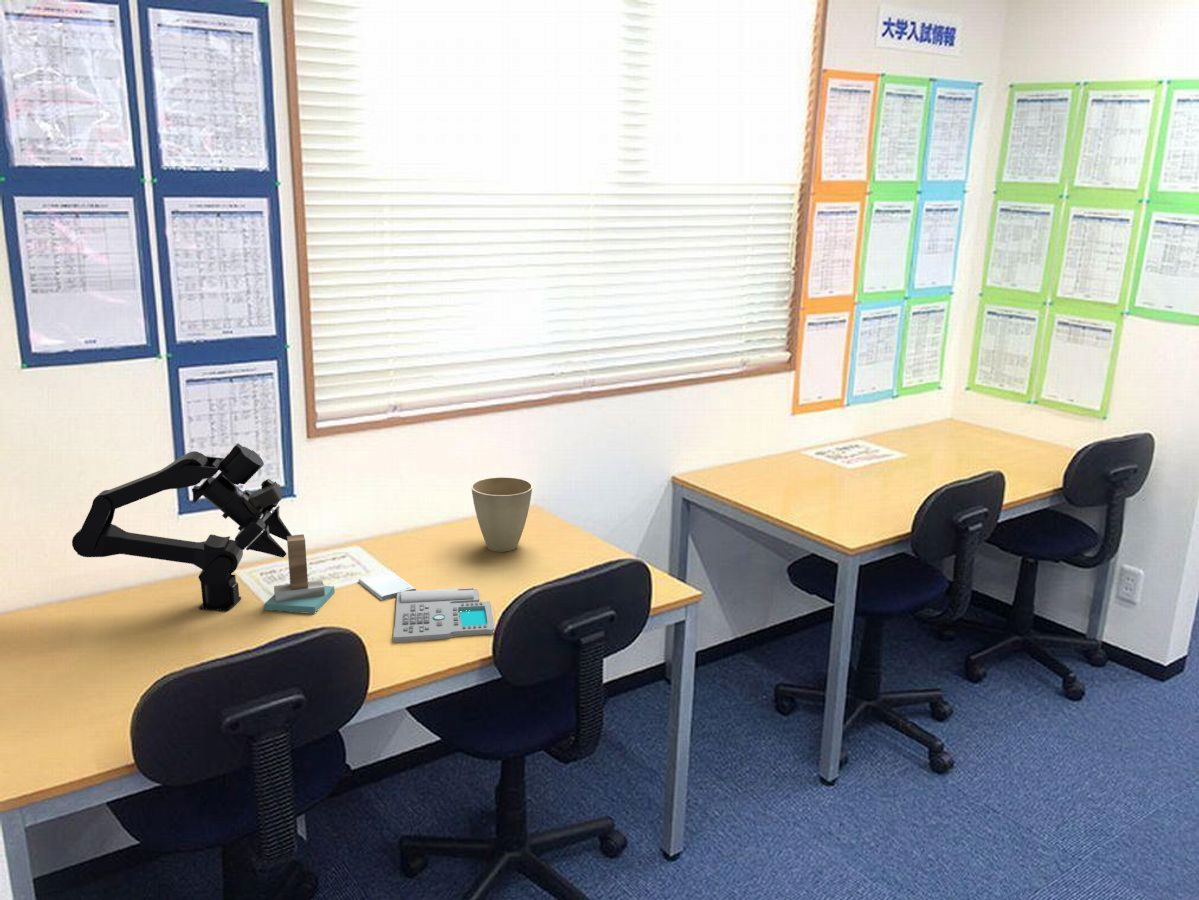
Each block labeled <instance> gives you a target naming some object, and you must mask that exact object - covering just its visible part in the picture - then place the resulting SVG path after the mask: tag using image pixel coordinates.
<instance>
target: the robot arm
mask: <svg viewBox="0 0 1199 900" xmlns="http://www.w3.org/2000/svg"><path fill="white" fill-rule="evenodd" d="M264 465H265V464H264V461H263V459H262V458H261V457H260V455H259V454H258V453H257V452H255V450H251V449H250V448H248V447H247V446H242V445H241V444H240V443H239V442H238V443H236V444H235V445H234V446H233V448H231V449H230V452H229V453H227V455H226V456H224V457H216V456H208V455H207V456H206V455H205V454H203V453H202V452H199V451H197V450H196V451H195V450H194V451H190V452H187V453H185V454H184V455H182V456H180V457H179V458H177V459H175V460H173V461H172V462H171V463H169V464H168V465H167V466H165V467H164V468H161V469H160V470H157V471H154V472H151V473H150V474H149V473H148V474H146V475H144V476H142V477H139V478H136V479H133V480H132V481H129V482H126V483H124V484H121V485H118V486H115V487H113V488H110V489H104V490H103V491H101V492H99V494H98V495H96V496H95V497H94V499H92V503H91V507H90V510H89V512H88V514H87V515H86V518H85V520H84V522H83V524H82V526H81V528H80V529H79V530H78V531H77V532H76V533H75V534H74V535H73V537H72V541H71V545H72V548H73V550H74V551H75V552H76V553H77V555H78V556H79V557H84V558H105V557H111V556H116V555H125V556H126V555H127V556H132V557H138V558H139V557H141V558H147V559H154V560H162V561H169V562H174V563H175V562H176V563H183V564H191V565H194V566H195V567H197V568H199V569H201V571H200V573H199V575H198V580H199V582H200V587H201V588H200V589H201V600H202V603H201V604H200V605H199V606H198V609H199V610H207V611H208V610H209V611H224V612H227V611H229V610H231V609H232V608H233V607H234V606H235V605H236V604H237V603H239V602H240V601H241V600H242V597H241V596H240V589H239V583H238V582H237V579H236V574H233V573H234V572H235V571H236V570H237V569H238V567H239V565H240V562H241V561H242V558H243V555H244V550H246V551H249V550H250V551H254V552H260V553H263V554H268V555H272V556H275V557H279V558H284V557H285V556H287V552H286V551H285V550H284V549H283V547H281V545H280V544H279V543H278V542H277V541H276V540H275V539H274V538H273V537H272V536H271V535H273V536H275V537H277V538H279V539H281V540H283V541H286V542H287V536H293V535H292V534H291V531H289V528H288V527H287V526H286V525H285V523H284V522H283V520H282V519H281V516H280V507H281V506H280V505H279V502H281V500H282V497H284V494H283V492H282V490H281V489H280V488H281V485H280V483H278V482H277V481H273V480H272V479H270V478H268V479H265V480H263V481H262V483H261V487H260V488H259V489H258V490H257V491H255V492H251V491H250V489H249V490H248V489H244V491H243V490H242V489H241V488H239V485H246V483H248V481H250V480H251V479H252V478H253V476H255V474H256V473H257V472H258V471H260V470H261V468H262V467H263V466H264ZM219 471H220V473H218V472H219ZM217 473H218V474H217ZM216 474H217V475H216ZM215 475H216V476H215ZM214 476H215V477H214ZM203 480H204V481H203ZM202 481H203V482H202ZM201 482H202V483H201ZM200 483H201V484H200ZM198 484H200V485H198ZM188 487H192V488H191V492H192V502H193V503H197V501H198V500H200V499H201V497H202V496H203V497H204V498H205V499H206V500H208V501H209V503H211V504H212V505H214V506H215V507H216V508H217V509H219V510H220V511H221V512H222V513H223V514H222V515H221V516H222V517H223V518H224V519H225V520H226V519H227V518H229V519H230V520H232V521H233V522H234V523H235V524H236V525H238V528H237V530H239V531H238V533H237V534H236V535H235V538H234V539H230V538H231V536H219V535H216V534H209V536H207V539H206V540H204V541H200V542H199V541H191V540H183V539H177V538H171V537H162V536H155V535H149V534H148V535H147V534H142V533H134V532H130V531H126V530H124V529H122V528H121V527H119V526H117V525H115V524H113V523H112V522H113V519H114V517H115V516H114V515H115V512H116V510H117V509H120V508H122V507H123V506H127V505H129V504H132V503H134V502H137V501H140V500H142V499H143V500H144V499H145V498H147V497H151V496H153V495H155V494H159V493H160V492H163V491H168V490H175V489H176V490H178V489H184V488H188Z"/></svg>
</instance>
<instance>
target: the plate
mask: <svg viewBox="0 0 1199 900" xmlns="http://www.w3.org/2000/svg"><path fill="white" fill-rule="evenodd" d="M324 590H325V596H317V597H309V598H301V599H294V600H286V601H278V602H276V599H275V593H274V594H273V595H272V596H271V597H269V599H268V600H267V601H265V603H264V611H266V610H279V611H278V612H282V611H289V612H288V613H297V612H308V613H307V614H313V613H315V612H316V611H317V612H319V610H320V609H321V608H322V607H323V606H324V605H325V604H326V603H327V602H326V601H327V600H328V601H329V600H330V599H331V598H332V596H333V595H334V594H335V586H331V585H324ZM325 602H326V603H325ZM324 603H325V604H324ZM323 604H324V605H323ZM320 607H321V608H320ZM319 608H320V609H319ZM318 609H319V610H318ZM290 611H291V612H290ZM317 612H316V613H317Z"/></svg>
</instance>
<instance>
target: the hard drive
mask: <svg viewBox="0 0 1199 900" xmlns="http://www.w3.org/2000/svg"><path fill="white" fill-rule="evenodd" d="M358 583H359V584H361V586H363V587H364V588H365V589H367V590H368V591H369V592H370V593H372V595H374V596H375V597H377V598H378V599H379V600H381V601H387V600H390V599H393V598H397V593H400V592H401V591H417V589H416V588H415V587H414V586H412V585H411V584H409V583H408V582H407V581H406V580H405V579H403V578H401V577H400V576H398V575H397V574H396V573H394V571H386V572H381V573H378V574H377V573H376V574H373V575H369V576H364V577H360V578H359V579H358Z"/></svg>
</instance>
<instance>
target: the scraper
mask: <svg viewBox="0 0 1199 900" xmlns="http://www.w3.org/2000/svg"><path fill="white" fill-rule="evenodd" d="M286 544H287V545H286V546H287V557H288V570H289V571H288V573H289V583H285V584H278V585H273V591H274V594H275V599H276V602H278V601H286V600H294V599H301V598H309V597H317V596H325V590H324V586H325V585H324V581H323V579H319V580H312V581H308V566H307V565H308V564H307V549H306V539H305V535H304V534H294V535H292V536H287V541H286Z"/></svg>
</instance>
